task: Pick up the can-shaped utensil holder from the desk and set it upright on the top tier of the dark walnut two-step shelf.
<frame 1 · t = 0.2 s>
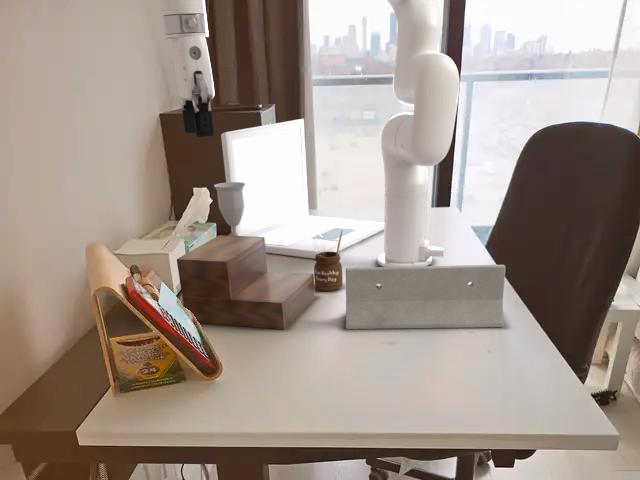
hand: (199, 134, 123), 31 cm above the table, tool pointing down, fingers open, 9 cm apart
step shelf: (252, 309, 128), on the table
barrier: (422, 322, 119), on the table
laptop: (312, 239, 176), on the table
chalice: (238, 263, 159), on the table
utensil holder: (329, 288, 138), on the table
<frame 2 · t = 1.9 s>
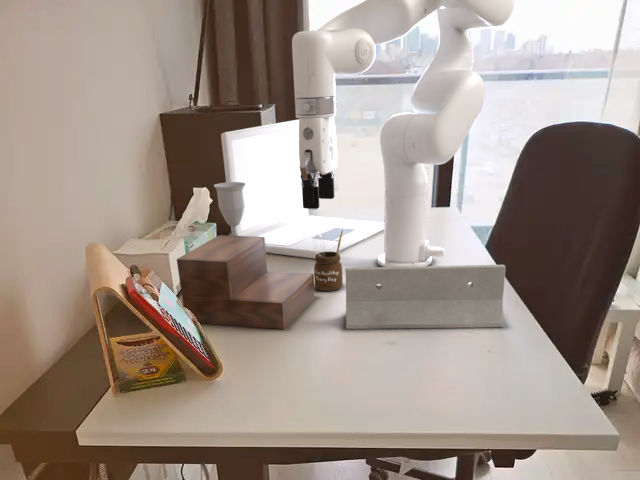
hand: (319, 203, 130), 17 cm above the table, tool pointing down, fingers open, 9 cm apart
nothing on the table moved.
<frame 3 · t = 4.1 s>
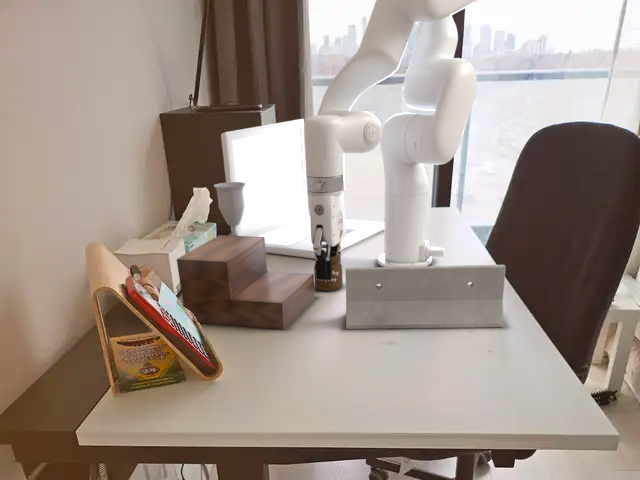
hand: (328, 273, 137), 3 cm above the table, tool pointing down, fingers closed on utensil holder, 6 cm apart
utensil holder: (329, 288, 138), on the table, touching gripper
everything else where it was.
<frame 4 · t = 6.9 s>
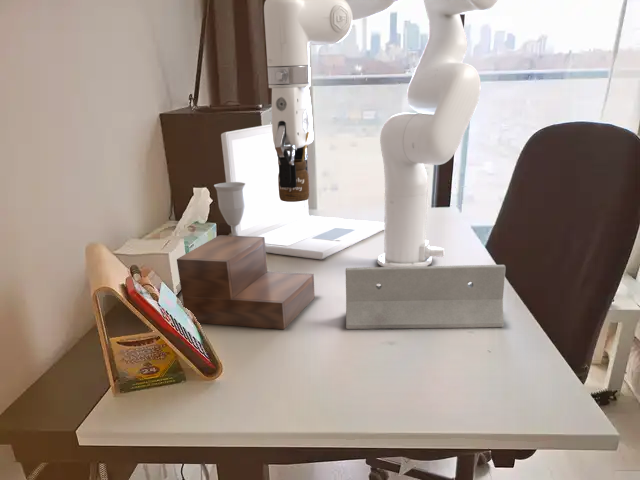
hand: (294, 183, 125), 22 cm above the table, tool pointing down, fingers closed on utensil holder, 6 cm apart
utensil holder: (295, 200, 126), point 19 cm above the table, touching gripper
everything else where it was.
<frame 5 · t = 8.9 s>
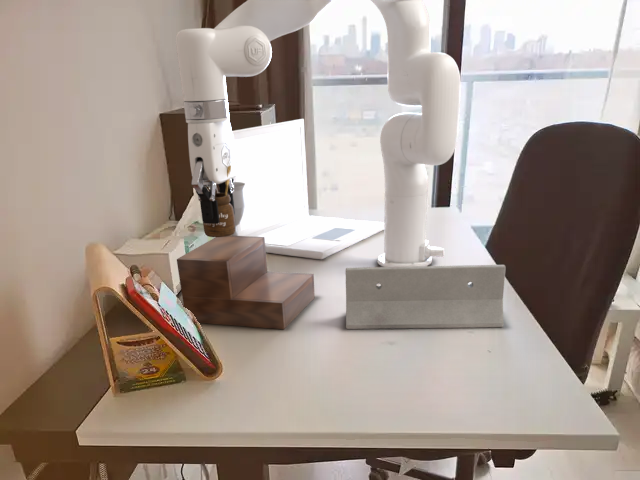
hand: (219, 218, 121), 17 cm above the table, tool pointing down, fingers closed on utensil holder, 6 cm apart
utensil holder: (221, 235, 123), point 14 cm above the table, touching gripper
everything else where it was.
when the fingers open (15 cm above the table, at t = 10.1 s): utensil holder stays where it is, resting on step shelf.
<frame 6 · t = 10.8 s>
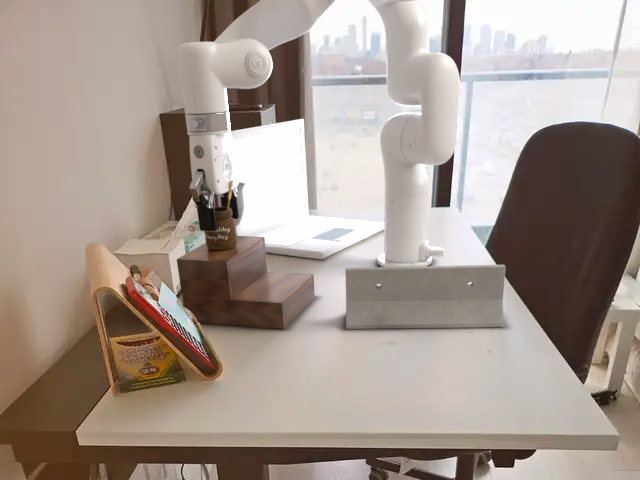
hand: (220, 224, 122), 16 cm above the table, tool pointing down, fingers open, 9 cm apart
utensil holder: (223, 248, 124), point 12 cm above the table, touching step shelf
everything else where it was.
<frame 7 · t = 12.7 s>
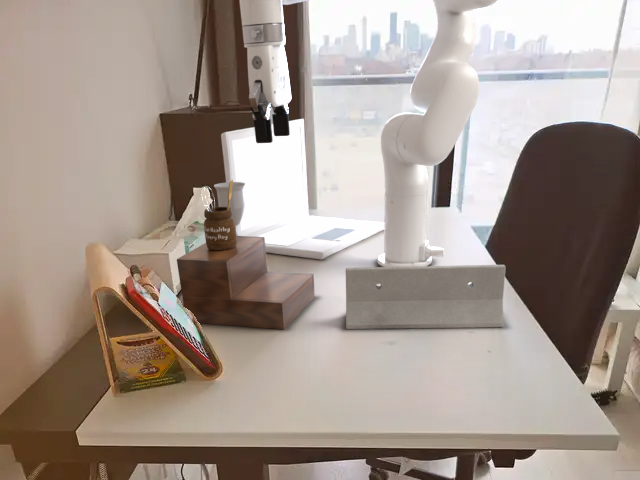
hand: (273, 139, 126), 29 cm above the table, tool pointing down, fingers open, 9 cm apart
nothing on the table moved.
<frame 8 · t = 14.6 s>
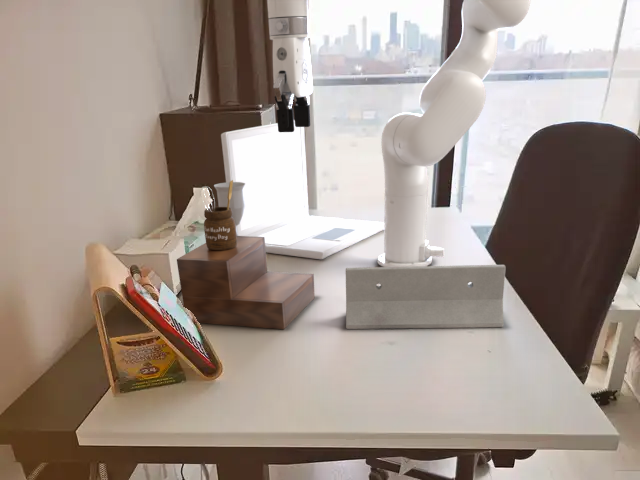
hand: (294, 129, 130), 30 cm above the table, tool pointing down, fingers open, 9 cm apart
nothing on the table moved.
at the end: utensil holder inside the target area on the step shelf (0.1 cm from its centre), point 11.8 cm above the step shelf's base; utensil holder tilted 0°; the gripper is holding nothing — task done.
